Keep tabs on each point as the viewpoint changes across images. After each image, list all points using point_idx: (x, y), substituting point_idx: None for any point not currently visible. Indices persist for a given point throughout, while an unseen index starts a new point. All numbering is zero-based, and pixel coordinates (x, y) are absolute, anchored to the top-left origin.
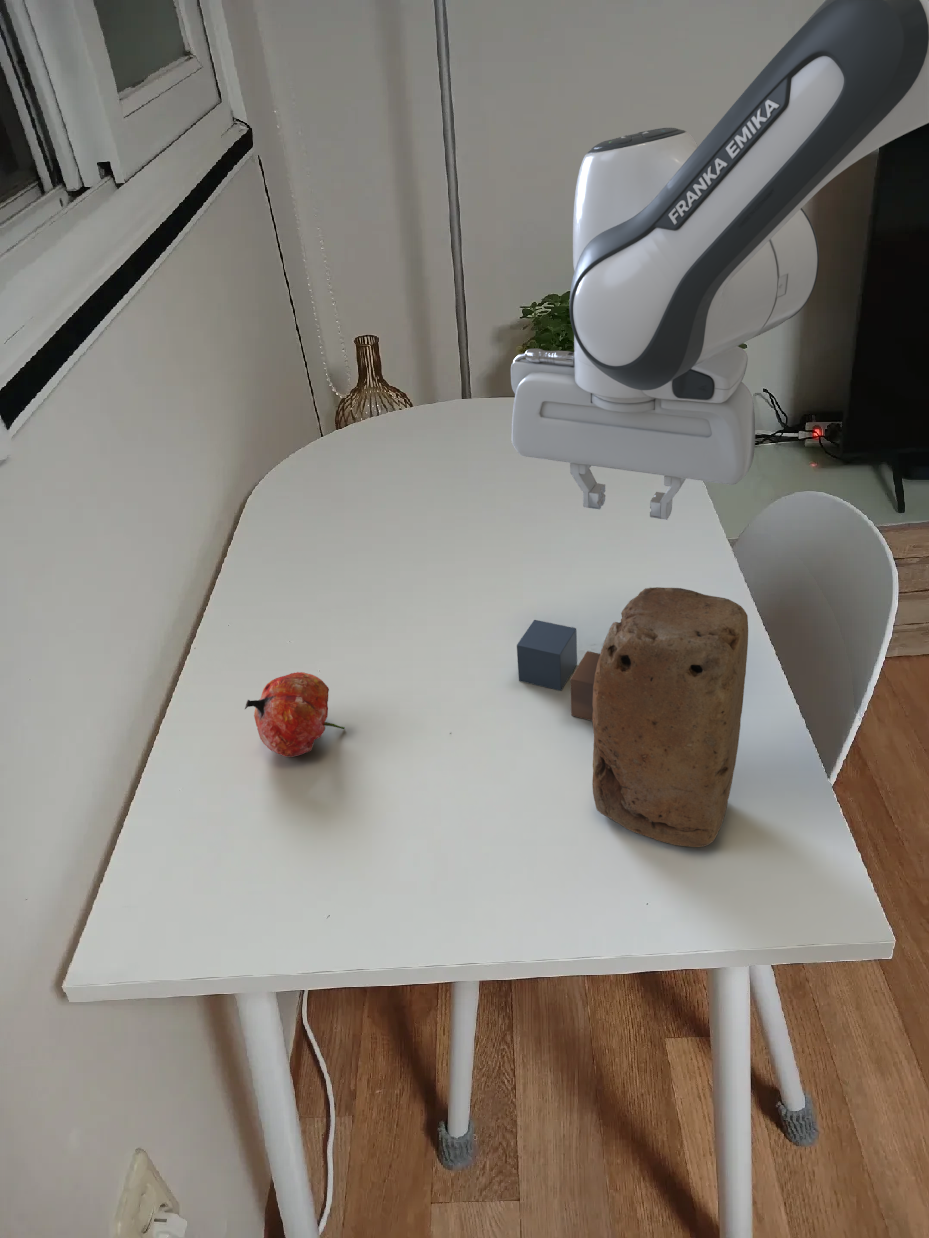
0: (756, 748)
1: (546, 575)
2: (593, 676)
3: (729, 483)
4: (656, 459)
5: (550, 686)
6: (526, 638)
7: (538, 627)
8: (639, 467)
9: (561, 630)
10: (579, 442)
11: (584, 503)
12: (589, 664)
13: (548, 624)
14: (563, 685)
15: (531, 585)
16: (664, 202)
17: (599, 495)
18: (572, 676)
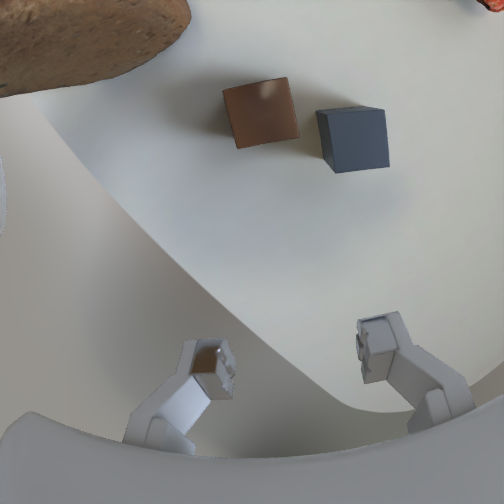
0: (114, 148)
1: (407, 271)
2: (262, 95)
3: (29, 413)
4: (153, 501)
5: (328, 109)
6: (380, 126)
7: (378, 153)
8: (217, 477)
9: (350, 160)
10: (471, 495)
11: (398, 318)
12: (281, 114)
13: (370, 164)
14: (317, 118)
15: (415, 252)
16: None
17: (366, 352)
18: (287, 82)
